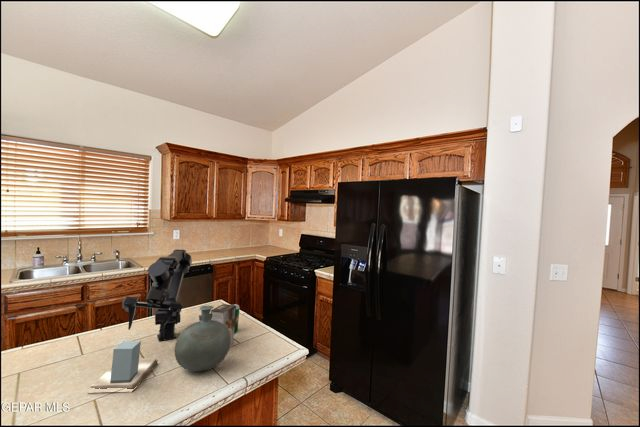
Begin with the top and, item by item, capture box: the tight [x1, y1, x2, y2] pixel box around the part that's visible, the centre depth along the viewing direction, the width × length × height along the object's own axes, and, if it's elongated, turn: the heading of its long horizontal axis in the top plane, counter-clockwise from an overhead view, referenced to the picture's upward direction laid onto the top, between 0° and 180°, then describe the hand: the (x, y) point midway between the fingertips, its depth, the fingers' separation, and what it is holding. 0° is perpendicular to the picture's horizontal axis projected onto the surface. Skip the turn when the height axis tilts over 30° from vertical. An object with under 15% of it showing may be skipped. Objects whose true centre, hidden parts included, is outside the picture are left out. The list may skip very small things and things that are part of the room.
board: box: [89, 358, 159, 389], centre depth 82 cm, size 16×12×2 cm
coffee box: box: [210, 303, 237, 346], centre depth 106 cm, size 9×6×16 cm
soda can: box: [234, 304, 241, 334], centre depth 121 cm, size 5×5×12 cm
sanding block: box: [110, 340, 141, 383], centre depth 79 cm, size 5×5×10 cm
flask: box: [174, 304, 232, 372], centre depth 89 cm, size 12×17×22 cm
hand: (144, 330), depth 88 cm, fingers open, 9 cm apart
